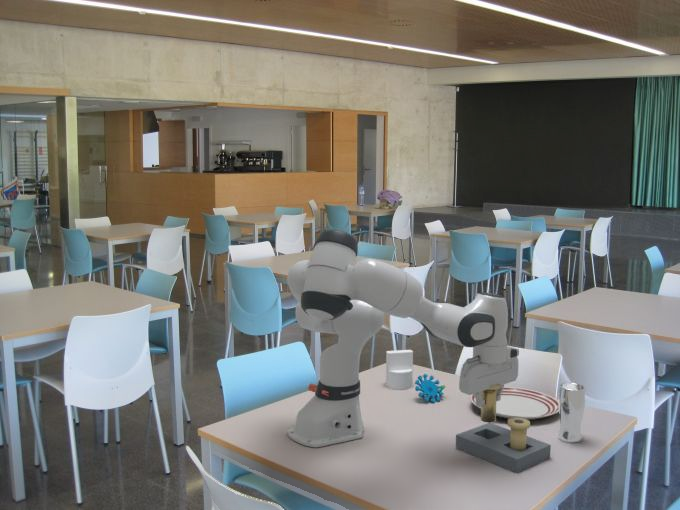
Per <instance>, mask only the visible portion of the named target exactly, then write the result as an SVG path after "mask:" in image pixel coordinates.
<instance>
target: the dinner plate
mask: <svg viewBox="0 0 680 510" xmlns="http://www.w3.org/2000/svg"><path fill="white" fill-rule="evenodd" d="M469 400H470V402H471V403H472V404H473V405H474V406H475V407H477V408H478V409H479V410H481V407H479V406H477V405H476V399H475V396H474V394H472V395H469ZM557 413H559V407H558V399H556V398H555V397H553V396H551V395H549V394H546V393H544V392H540V391H536V390H534V389H533V390H532V389H530V388H523V387H515V386H504V389H503V391H502V393H501V400H500V401H497V402H496V417H500V418H503V419H506V420H508V419H510V418H524V419H527V420H529V421H530V420H531V421H532V420H537V419H543V418H546V417H550V416H553V415H555V414H557Z"/></svg>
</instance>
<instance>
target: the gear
mask: <svg viewBox="0 0 680 510" xmlns="http://www.w3.org/2000/svg"><path fill="white" fill-rule="evenodd" d="M428 375H429V374H426V373H423V375H418V377H417V379H416V380H415V382H414V384H415V385H416V386H415V387H414V390H415V391H417V392H418V391H420V392H419V393H418V394H417V395H418V396H419V398H424V399H423V400H424V402H426V403H427V402H429V399H430V398H431V399H430V403H432V404H434V403H436V402H439V401H441V400H442V399H441V397H443V396H444V393H443V392H442V391H443V390H444V389H445V388H446V385H445V384H443V385H439V384H440V383H441V382H440V380H439V379H436V380H435V381H433V380H434V379H435V377H434V376H433V375H432V374H431V375H430V376H429V378H428Z"/></svg>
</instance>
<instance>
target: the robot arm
mask: <svg viewBox="0 0 680 510" xmlns="http://www.w3.org/2000/svg"><path fill="white" fill-rule="evenodd" d="M311 250H312V252H311V255H310V257H309V259H305V260H304V259H303V260H299V261H298V262H295V264H293V265H292V266H291V267H290V268H289V270H288V273H287V276H286V277H287V278H286V282H287V286H288V288H289V290H290V292H291V294H292V296H293V297H294V299H295V300H296V302H297V304H296V306H295V312H294V313H295V319H296V322H297V323H298V325H299V326H300V328H302V329H306V330H308V331H311V332H315V333H320V334H321V333H322V334H331V335H338V342H337V343H335V344H332V345H330V346H328V347H327V348H324V350H323V351H322V353H321V354H320V357H319V380H318V382H317V385H315V384H313V383H310V384H308V386H307V388H308V389H307V390H308V391H310V392H312V393H314V396H312V398H310V400H308V402H307V403H305V405H304V406H303V407H302V408H301V409H300V410H299V411H298V412H297V414H296V418H295V426H293V427H290V428H289V429H287V431H286V433H287V436H288V437H289V439H291V440H292V441H294V442H296V443H298V444H300V445H303V446H306V447H309V448H310V447H311V448H320V447H326V446H331V445H335V444H339V443H344V442H348V441H352V440H353V441H354V440H358V439H361V438H363V437H364V436H363V433H364V431H365V425H364V422H363V418H362V411H361V405H360V403H361V402H360V394H361V380H360V379H359V378H360V377H359V376H360V375H359V374H360V373H359V372H360V371H359V370H360V361H361V359H360V358H361V354H362V351H363V348H364V346H365V345H366V343H367V342H368V341H369V340H370V339H371V338H372V337H373V336H375V335H377V334H378V333H379V332H380V331H381V328H382V327H383V325H384V322H385V314H386V315H387V314H388V315H390V316H393V317H396V318H402V319H407V318H411V319H413V320H415V321H417V322H419V324H420V325H422V327H423V328H424V330H425V331H426V332H427V334H429V335H430V336H431V337H433V338H435V339H439V340H443V341H446V342H449V343H453V344H455V345H458V346H461V347H465V348H472V357H470V358H469V357H468V358H467V359H465V361H464V362H463V363H462V367H461V369H460V375H459V384H458V389H459V391H460V392H461V393H462V394H466V395H468V396H470V395H472V394H474V396H475V399H476V405H477V406H479V407H482V406H484V405H485V400H484V399H482V396H481V395H482V394H483V391H484V390H488V389H489V387H491V386H494V385H497V384H500V389H499V390H497V396H496V402H497V401H500V400H501V393H502V391H503V389H504V387H505V385H506V384H509V383H513V382H515V381H516V380H517V379H518V376H519V358H518V357H519V355H520V349H519V348H516V347H513V346H511V345H510V346H509V345H508V339H507V330H508V327H509V312H508V311H509V310H508V303H507V300H506V298H505V297H504V296H503V295H500V294H498V293H497V294H496V293H492V292H485V291H483V292H482V291H481V292H478V293H476V296H475V298H474V299H473V300H472V301H471V302H470V303H469V304H467V305H466V306H464V307H463V306H460V305H456V304H452V303H450V302H447V301H444V300H435V301H434V300H430V299H428V298H426V297H425V296H424V295H423V294H424V293H423V292H424V289H423V286H422V283H421V282H420V281H419V280H417V279H416V277H414V276H413V275H411V274H410V273H408V272H407V271H406V270H405V271H404V270H403V269H401V268H399V267H397V266H395V265H392V264H390V263H389V262H384V261H381V260H378V259H375V258H368V257H367V258H363V259H361V260H359V261H358V262H357V263H356V258H357V257H358V254H359V253H358V252H359V251H358V250H359V245H358V241H357V239H356V238H355V237H354V236H353V235H352V234H351V233H348V232H346V231H344V230H341V229H335V228H334V229H333V228H332V229H326V230H325V231H324V230H323V231H322V232H321V233H320V234H319V235H318V237H317V238H316V239H315V241H314V243H313V247H312V248H311ZM477 406H476V407H477Z"/></svg>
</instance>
